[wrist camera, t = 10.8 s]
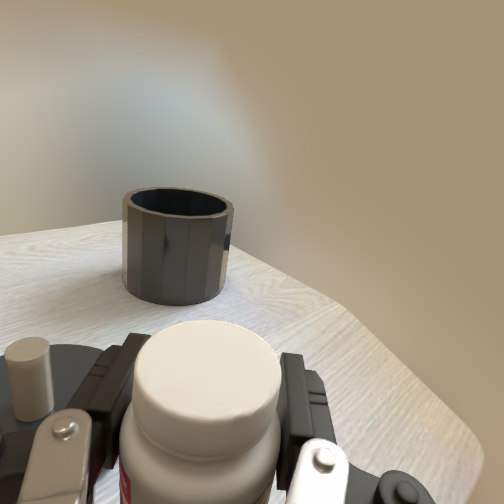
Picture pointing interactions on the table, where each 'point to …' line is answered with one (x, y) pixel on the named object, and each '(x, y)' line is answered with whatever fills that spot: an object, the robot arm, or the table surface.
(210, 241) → the pot
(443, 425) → the table surface
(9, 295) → the table surface
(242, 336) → the pill bottle
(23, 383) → the pot lid
